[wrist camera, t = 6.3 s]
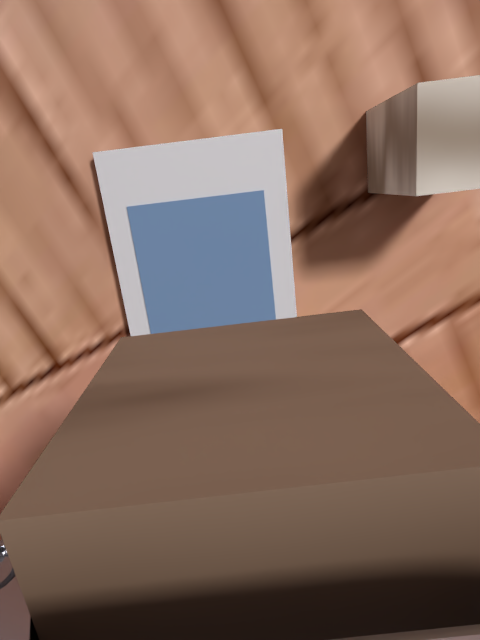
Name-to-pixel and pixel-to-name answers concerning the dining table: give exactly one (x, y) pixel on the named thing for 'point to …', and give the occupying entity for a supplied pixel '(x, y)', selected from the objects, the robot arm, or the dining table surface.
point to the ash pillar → (426, 139)
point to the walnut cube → (253, 492)
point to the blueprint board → (200, 231)
